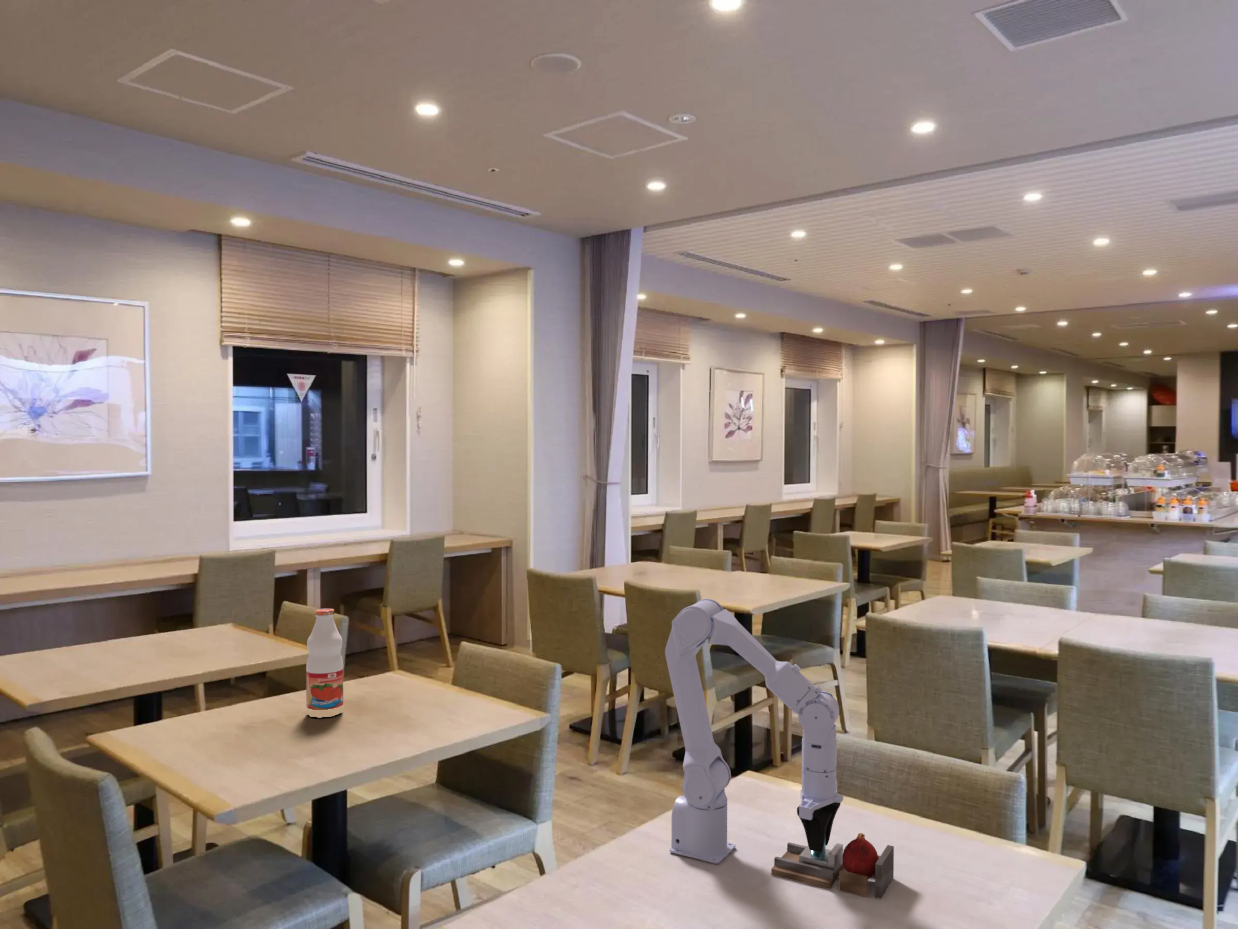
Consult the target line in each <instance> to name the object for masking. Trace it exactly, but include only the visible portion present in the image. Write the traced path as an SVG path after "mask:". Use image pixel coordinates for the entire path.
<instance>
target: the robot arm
mask: <svg viewBox="0 0 1238 929" xmlns="http://www.w3.org/2000/svg"><path fill="white" fill-rule="evenodd" d="M709 638H710V639H709ZM708 639H709V641H708V644H709V645H719V646H729V647H730V648H731V649H732V650H733V651H735V653H737V654H738V655H739V656H740V657H742V658H743V659H744V660H745V661H746V662H748V663H749V664H750V665H751V666H753V668H755V669H756V670H757V671H758V672H759V673H761V674H762V675H763V676H764V680H765V686H766V687H765V688H767V689H768V690H769V691H770V692H771V693H773V694H774V696H776V697H777V698H778V700H780V701H781V702H782V703H783V704H784V705H785V706H786V707H787V708H788V709H790V710H791V711H792V712H793V713H794V714H796V715H798V716H797V717H798V718H797V719H798V722H799V724H800V726H801V728H802V738H801V789H800V804H799V806H797V807H796V814H797V816H798V818H799V819H800V822H801V824H802V826H803V829H804V832H805V837H806V842H807V846H809V849H810V850H812V851H816V852H822V850H823V847H824V842H825V834H826V842H825V847H827V846H828V844H829V841H830V838H831V832H832V828H833V824H834V821H835V817H836V815H837V812H838V810H839V808H840V807H841V804H842V802H843V801H844V795H843V794H839V793H838V780H837V766H838V765H837V764H838V763H837V760H838V758H837V757H838V756H837V751H838V749H837V748H838V747H837V746H838V744H837V743H838V741H837V725H836V724H835V723H836V721H837V719H838V717H839V714H840V706H839V703H838V701H837V700H836V698H835V697H834V696H833V693H831V692H828V691H825V690H823V688H822V687H820V686H819V685H817V686H816V685H814V683H812V682H811V681H810V680H809V679H808V678H807V677H806V676H804V674H803V673H801V672H800V671H801V669H802V668H801V667H800V666H799V665H798V664H796V663H795V664H794V665H793V664H792V663H790V661H780V660H777V659H776V658H775V657H774V656H773V655H772V654H771V652H769V651H768V650H767V649H766V648H765V647H764V646H763V645H762V644H761V643H760V642H759V641H758V640H757V639H756V638H755V637H754V636H753V635H752V634H751V633H750V632H749V631H748V630H747V629H746V627H744V626H743V625H742V624H741V623H740V622H739V621H738V619H737V618H736V617H735V616H734V615H733V614H732V613H731V611H729V610H728V609H726V608H725V609H724V608H723V606H722V605H721V604H720V602H718V601H716V600H715V599H712V598H702V599H700V600H698V601H697V602H696V603H694V604H692V605H689V606H686V607H684V608H683V609H681V610H680V612H679V613H678V614H677V615H676V616H675V617H674V618H673V619H672V621H671V630H670V632H669V636H668V639H667V642H666V646H665V648H664V656H665V660H666V664H667V668H668V674H669V678H670V684H671V687H672V693H673V698H674V701H675V702H674V703H675V707H676V710H677V711H676V712H677V716H678V721H679V726H680V731H681V735H682V738H683V744H684V748H685V753H684V758H683V761H682V762H683V763H682V769H683V774H684V775H683V780H682V781H683V782H682V787H681V788H682V794H683V795H679V796H678V797H677V798H676V799H675V801H674V802H673V803H674V804H673V806H672V811H671V840H670V841H671V842H670V843H671V847H670V848H669V852H670V853H671V854H676V855H679V856H684V857H687V858H692V859H695V860H699V861H703V862H707V863H711V864H715V865H716V864H717V865H718V864H720V863H721V862H722V861H723V860H724V859H725V858H726V857H727V856H728V855H729V854H730V853H731V852H732V851H734V849H735V848H736V844H735V843H731V842H728V797H727V795H726V792H725V791H726V788H727V787H728V785H729V784H730V782H731V776H732V774H731V772H732V771H731V769H730V767H729V765H728V763H727V762H726V761H725V760H724V758H723V755H722V750H721V748H720V747H719V746H718V745H717V744H716V743H715V740H714V735H713V731H712V725H711V722H710V717H709V712H708V708H707V702H706V698H705V694H704V689H703V684H702V679H701V676H700V670H699V666H698V661H697V656H696V655H698V653H699V651H700V650H701V648H702V647H703V645H704V644H705V643H706V641H707V640H708Z"/></svg>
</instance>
